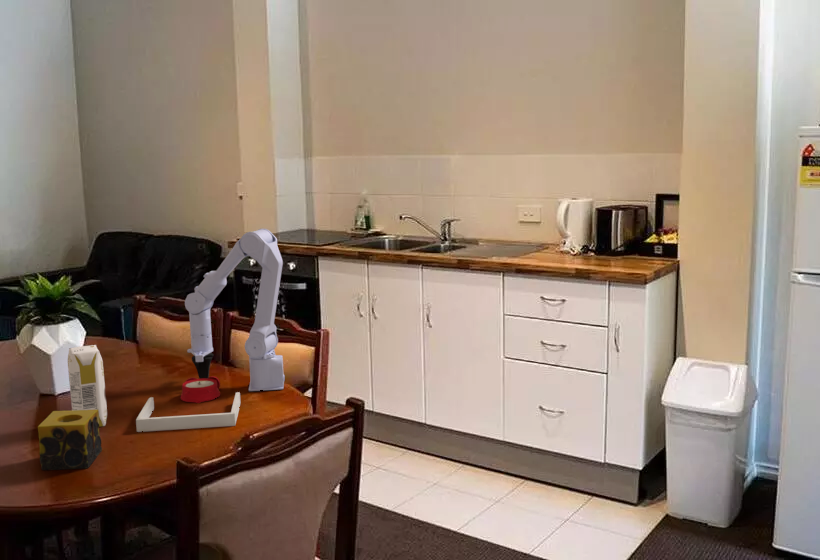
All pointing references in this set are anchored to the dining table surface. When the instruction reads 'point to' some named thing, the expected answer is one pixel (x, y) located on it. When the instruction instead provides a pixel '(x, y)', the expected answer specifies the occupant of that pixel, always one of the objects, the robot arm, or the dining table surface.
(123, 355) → the dining table surface
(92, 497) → the dining table surface
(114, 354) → the dining table surface
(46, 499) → the dining table surface
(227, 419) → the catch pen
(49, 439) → the yellow patterned cube
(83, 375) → the juice carton
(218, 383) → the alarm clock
